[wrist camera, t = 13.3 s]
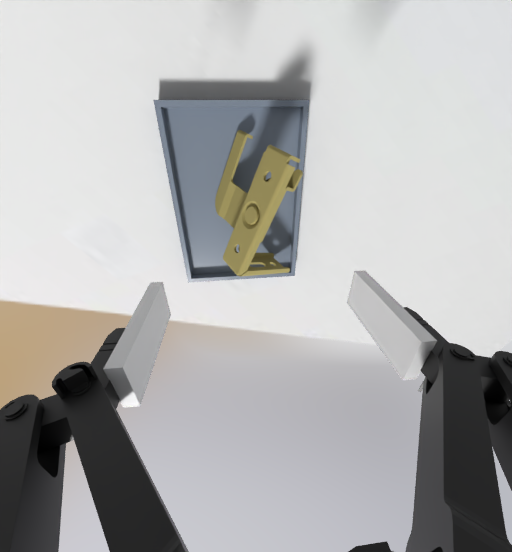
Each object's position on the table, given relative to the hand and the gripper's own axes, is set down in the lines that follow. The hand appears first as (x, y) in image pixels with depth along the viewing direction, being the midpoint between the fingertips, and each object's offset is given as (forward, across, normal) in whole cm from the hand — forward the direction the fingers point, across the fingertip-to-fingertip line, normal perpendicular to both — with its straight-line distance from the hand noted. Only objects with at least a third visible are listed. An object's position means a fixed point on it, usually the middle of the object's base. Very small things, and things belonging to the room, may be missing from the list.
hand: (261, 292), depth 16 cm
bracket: (+19, +4, +1) cm, 19 cm away
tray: (+21, -1, +1) cm, 21 cm away
